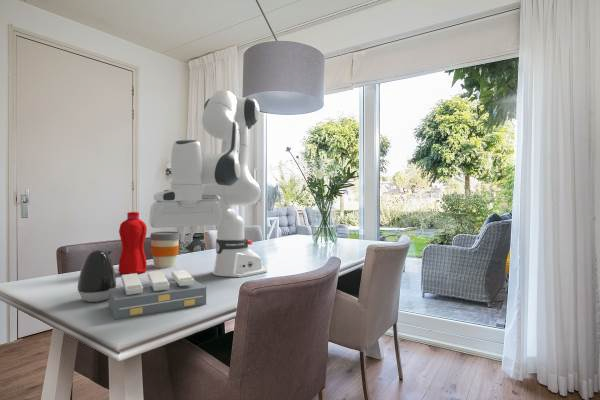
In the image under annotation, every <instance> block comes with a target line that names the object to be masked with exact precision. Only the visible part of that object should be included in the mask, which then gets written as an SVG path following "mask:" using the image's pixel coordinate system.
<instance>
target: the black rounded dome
mask: <svg viewBox="0 0 600 400" xmlns="http://www.w3.org/2000/svg"><path fill="white" fill-rule="evenodd" d="M111 254H112V250H111V249H109V250H107V251H104V250H103V249H95V250H93V251H91V252H89V253H88V254H87V256H86V257H85V259H84V261H83V263H82V266H81V268H80V269H81V270H80V272H79V277H78V283H77V292H78V293H79V296H80V298H81V299H82V300H84V301H86V302H88V303H98V302H99V303H100V302H103V301H106V300H109V289H112V288H117V279H116V273H115V272H116V271H115V268H114V266H113V265H114V264H113V263H112V260H111V258H110V256H109V255H111Z"/></svg>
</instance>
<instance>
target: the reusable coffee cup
mask: <svg viewBox="0 0 600 400" xmlns="http://www.w3.org/2000/svg"><path fill="white" fill-rule="evenodd" d="M149 240H150V250H151V251H150V252H151V254H150V255H151V257H152V260H153V261H152V262H153V267H154V268H155V267H156V268H157V269H169V267H170V268H174V267H176V263H177V257H178V255H179V250H180V249H179V248H180V244H179V241H180V240H181V236H180V234H179V232H178V231H155V232H151V233H150V236H149Z"/></svg>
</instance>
